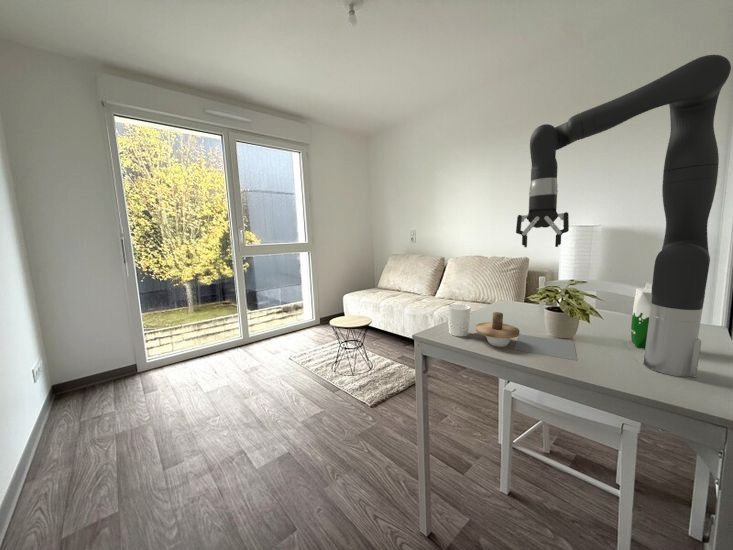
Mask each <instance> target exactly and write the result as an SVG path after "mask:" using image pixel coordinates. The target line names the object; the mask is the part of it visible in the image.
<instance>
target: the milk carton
mask: <svg viewBox="0 0 733 550" xmlns="http://www.w3.org/2000/svg"><path fill="white" fill-rule="evenodd" d="M651 300H652V287H651V288H650V287H649V288H648V287H647V288H643V287H642V288H640V287H636V289H635V295H634V301H633V307H632V315H631V316H632V317H631V324H630V325H631V326H630V333H631V342H632V344H633V345H634V344H635V345H634V346H635V347H636V348H637V349H641V348H645V347H646V340H647V332H648V324H649V317H650V309H651Z"/></svg>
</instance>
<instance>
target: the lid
mask: <svg viewBox="0 0 733 550" xmlns="http://www.w3.org/2000/svg"><path fill="white" fill-rule="evenodd" d="M503 319H504V314H503V312H499V311H498V312H497V311H495V312H492V322H491V321H489V322H488V321H487V322H481V323H477V324H476V325H475V331H476V332H477V333H478V334H480V335H483V336H489V337H494V338H510V339H515V338H518V336H519V334H520V329H519V328H518V327H516V326H515V325H514V326H513V325H511V324H507V323H504V321H503Z"/></svg>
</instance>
